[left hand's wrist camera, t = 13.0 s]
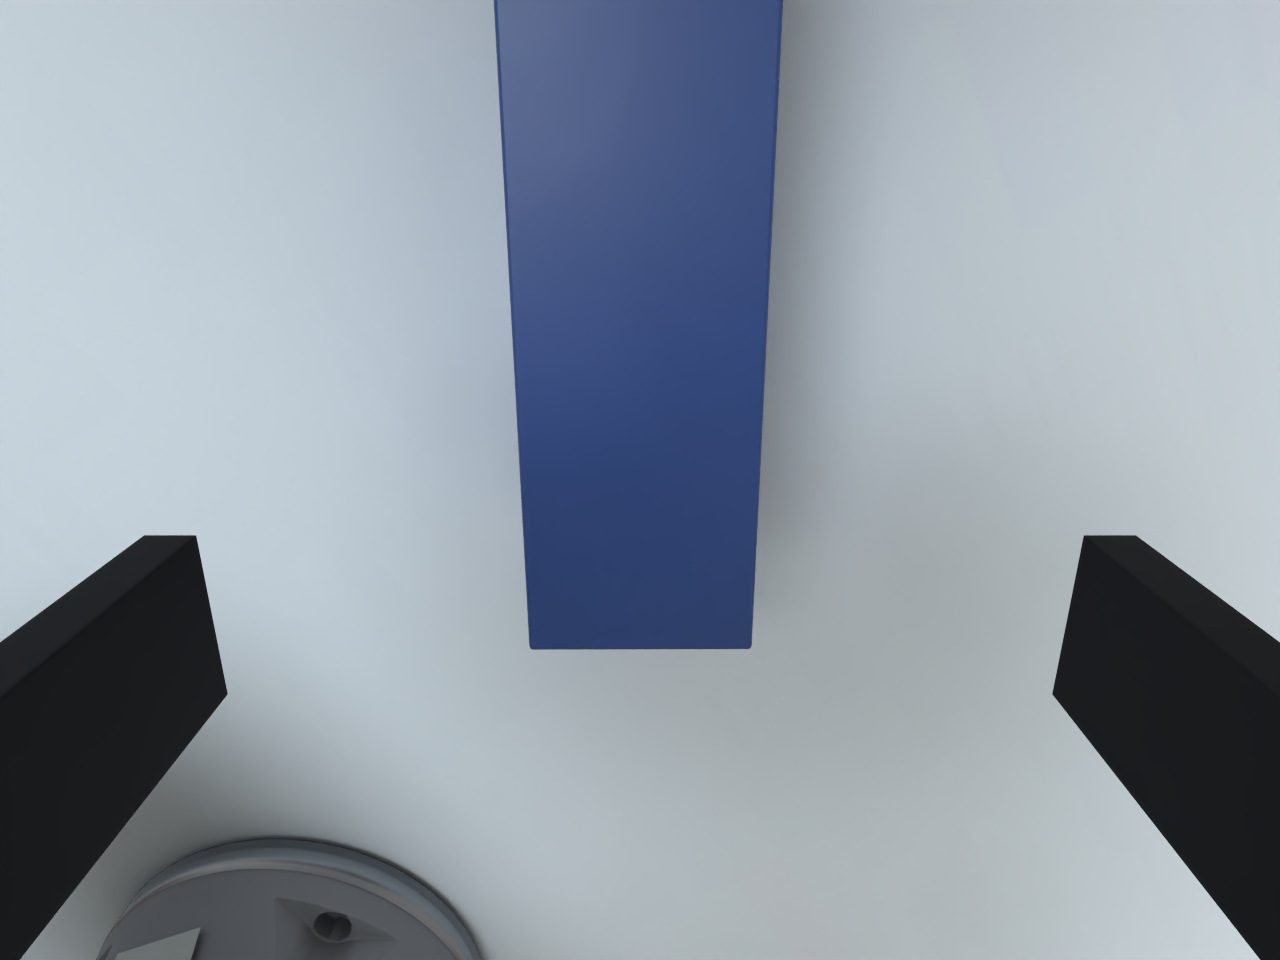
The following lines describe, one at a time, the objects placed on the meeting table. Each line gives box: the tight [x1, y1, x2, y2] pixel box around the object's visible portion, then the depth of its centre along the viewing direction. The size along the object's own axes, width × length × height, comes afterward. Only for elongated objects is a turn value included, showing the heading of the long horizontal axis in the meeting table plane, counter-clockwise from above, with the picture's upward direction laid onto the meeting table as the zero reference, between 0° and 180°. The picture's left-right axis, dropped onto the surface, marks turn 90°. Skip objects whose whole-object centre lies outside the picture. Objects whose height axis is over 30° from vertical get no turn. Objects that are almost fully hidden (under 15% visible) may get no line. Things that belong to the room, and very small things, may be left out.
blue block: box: [494, 0, 783, 649], centre depth 21 cm, size 17×5×8 cm, turn 0°
